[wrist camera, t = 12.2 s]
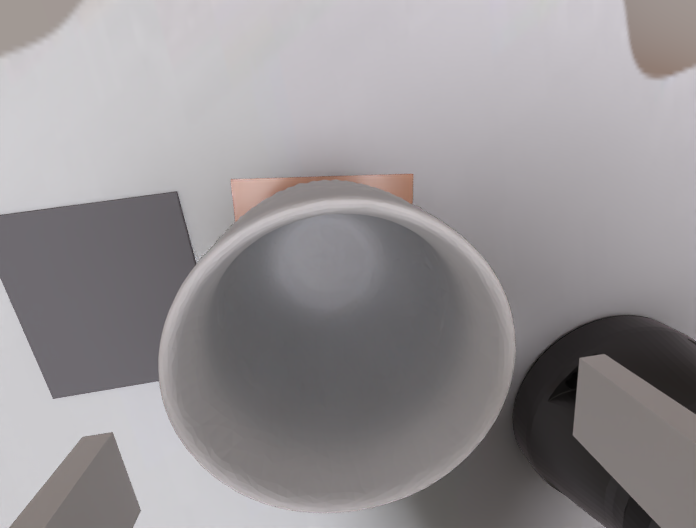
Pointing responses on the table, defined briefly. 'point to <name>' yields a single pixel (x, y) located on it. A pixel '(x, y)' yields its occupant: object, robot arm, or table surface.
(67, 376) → the charcoal mat
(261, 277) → the mug
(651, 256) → the table surface
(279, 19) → the table surface
